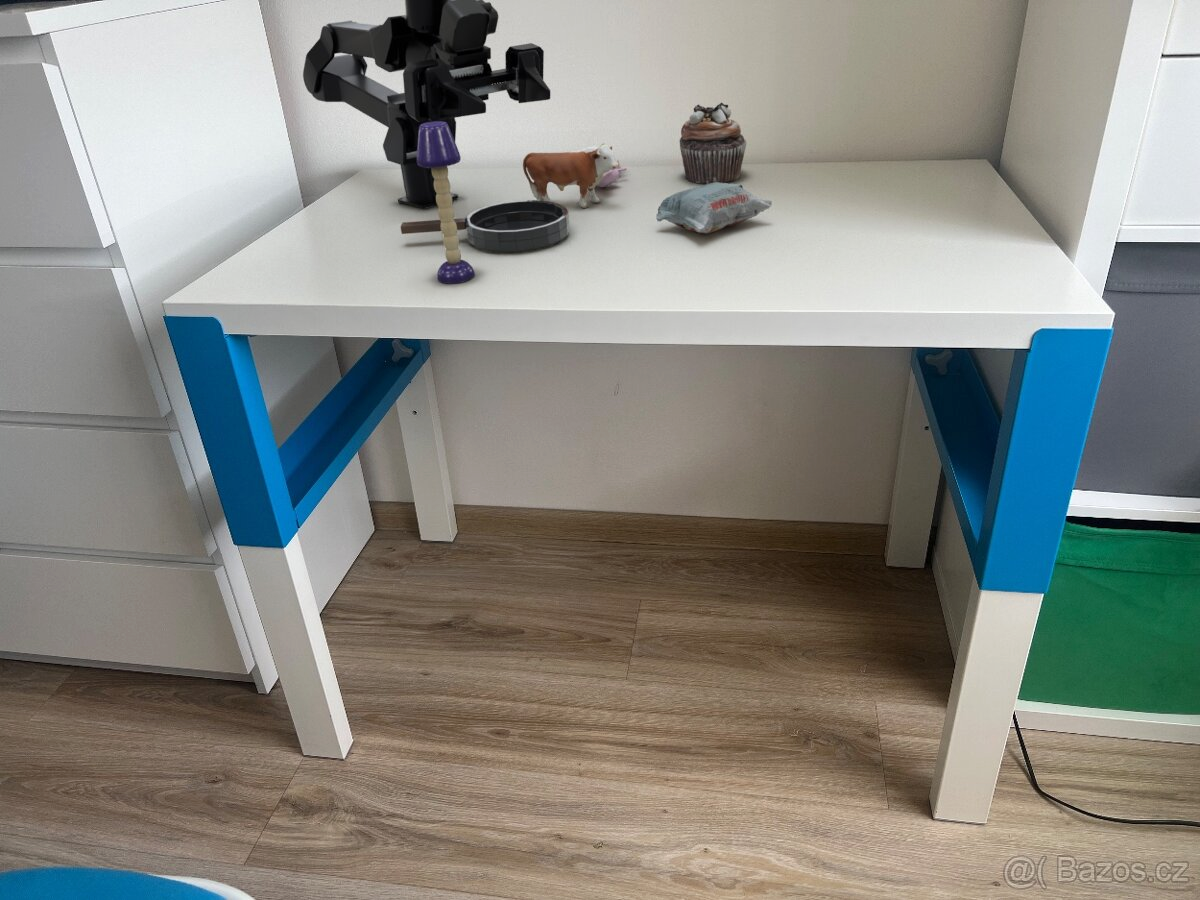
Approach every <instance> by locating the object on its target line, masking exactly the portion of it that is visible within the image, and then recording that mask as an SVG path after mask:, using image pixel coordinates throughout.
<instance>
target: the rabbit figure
mask: <svg viewBox="0 0 1200 900" xmlns="http://www.w3.org/2000/svg"><path fill="white" fill-rule="evenodd" d="M602 145H606V143H604V142H603V143H601V145H600V146H599V148H600V147H601V146H602ZM616 162H618V163H619V167H618V168H617V169H615V170H610V171H609V172H607V173H604V176H603V178H602V180H601V181H600V182H599V183H598V185H597V186H598V187H600V188H601V189H602V188H606V187H607V186H608V185H609V184H612V183H615V182H616V181H617V180H618V179H619V177H620V173H621V172H626V171H627V167H625V166H622V167H621V164H620V159H617V160H616Z"/></svg>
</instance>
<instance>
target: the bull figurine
mask: <svg viewBox="0 0 1200 900" xmlns="http://www.w3.org/2000/svg"><path fill="white" fill-rule="evenodd" d="M601 145H602V144H601ZM601 145H600V146H601ZM600 146H599V147H598V146H593V145H591V146H588V147H586V148H583V149H578V150H574V151H566V152H529V153H527V154H526V155H525V157H524V158H523V161H522V170H523V173H524V176H525V177H526V179H527V181H528V183H529V187H530V191H531V193H532V195H533V197H534V198H535V200H537V201H548V202H553V200H552V199H551V198H550V197H549V194H548V185H549V183H552V184H554V185H556V187H557V188H558V189H559V191H560V192H563V191H564V190H565V187H567V186H574V185H575V186H579V195H580V197H579V201H578V203H577V204H578V206H580V207H581V208H582V209H587V208H589V205H588V203H587V202H586V196H587V194H588V192H589V195H590V202H593V204H599V203H601V199H599V198H598V196H597V194H596V192H595V189H596V188H595V187H596V186H598V183H599V182H600V181H601V180H602V178H603V176H604V173H607V172H609V171H610V170H615V169H617V168H618V167H619V164H620V162H619V163H618V162H616V161H617V160H616V158H615V157H616V156H615V153H614V151H613V146H612V145H610V146H609V145H608V144H605V145H602V146H601V147H600ZM531 179H532V180H533V181H532V180H531Z"/></svg>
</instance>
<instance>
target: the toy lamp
mask: <svg viewBox="0 0 1200 900" xmlns="http://www.w3.org/2000/svg"><path fill="white" fill-rule="evenodd" d="M461 159H462V157H461V154H460V151H459V148H458V146H457V143H456V140H455V141H454V138H453V136H452V133H451V131H450V128H449V126H448V124H447V123H446V122H442V121H435V122H427V123H423V124H421V125H420V127H419V133H418V146H417V164H418V165H419V166H420V167H425V168H431V171H432V175H433V177H434V179H435V180H434V189H435V191H436V193H437V195H436V202H437V205H436V206H437V207H438V210H437V213H438V218H439V219H438V220H440V221H441V231H440V232H441V234H442V235H443V237H442V243H443V246H444V249H445V252H444V253H445V259H446V261H444V262H443V263H442V264H441V265H440V266H439V268H438V270H437V274H436V275H437V276H436V277H437V280H438V282H439V283H443V284H459V283H463V282H467V281H469V280H472V279H473V278H475V275H476V273H475V270H474V268H473V266H472V265H471V263H469V262H468V261H466V260H465V259H464V260H463V259H462V252H461V249H460V240H459V236H458V234H457V231H458V230H457V225H456V223H455V221H454V219H455V216H456V215H455V210H454V208H453V200H452V196H451V194H450V193H451V183H450V180H449V168H448V167H450V166H454V165H456V164H458V163H460V162H461ZM447 177H448V178H447ZM449 191H450V192H449Z"/></svg>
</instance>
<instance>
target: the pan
mask: <svg viewBox="0 0 1200 900" xmlns="http://www.w3.org/2000/svg"><path fill="white" fill-rule="evenodd" d="M464 218H465V224H466V229H465V231H466V238H467V242H468V243H469V244H471V245H473V247H475V248H477V249H478V250H481V251H483V252H489V253H496V254H520V253H528V252H534V251H539V250H543V249H547V248H549V247H552V246H555V245H556V244H558V243H560V242H561V241H563V240H564V239H565V237H567V236H568V235H569V232H570V230H571V228H570V215H569V211H568V209H567V207H566V206H564V205H562V204H560V203H557V202H553V201H552V202H548V201H540V200H537V199H528V200H527V199H526V200H525V199H524V200H512V201H503V202H498V203H493V204H490V205H486V206H483V207H480V208H477V209H475V210H473V211H471V212H469V213H468V214H467V216H466V217H464Z"/></svg>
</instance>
